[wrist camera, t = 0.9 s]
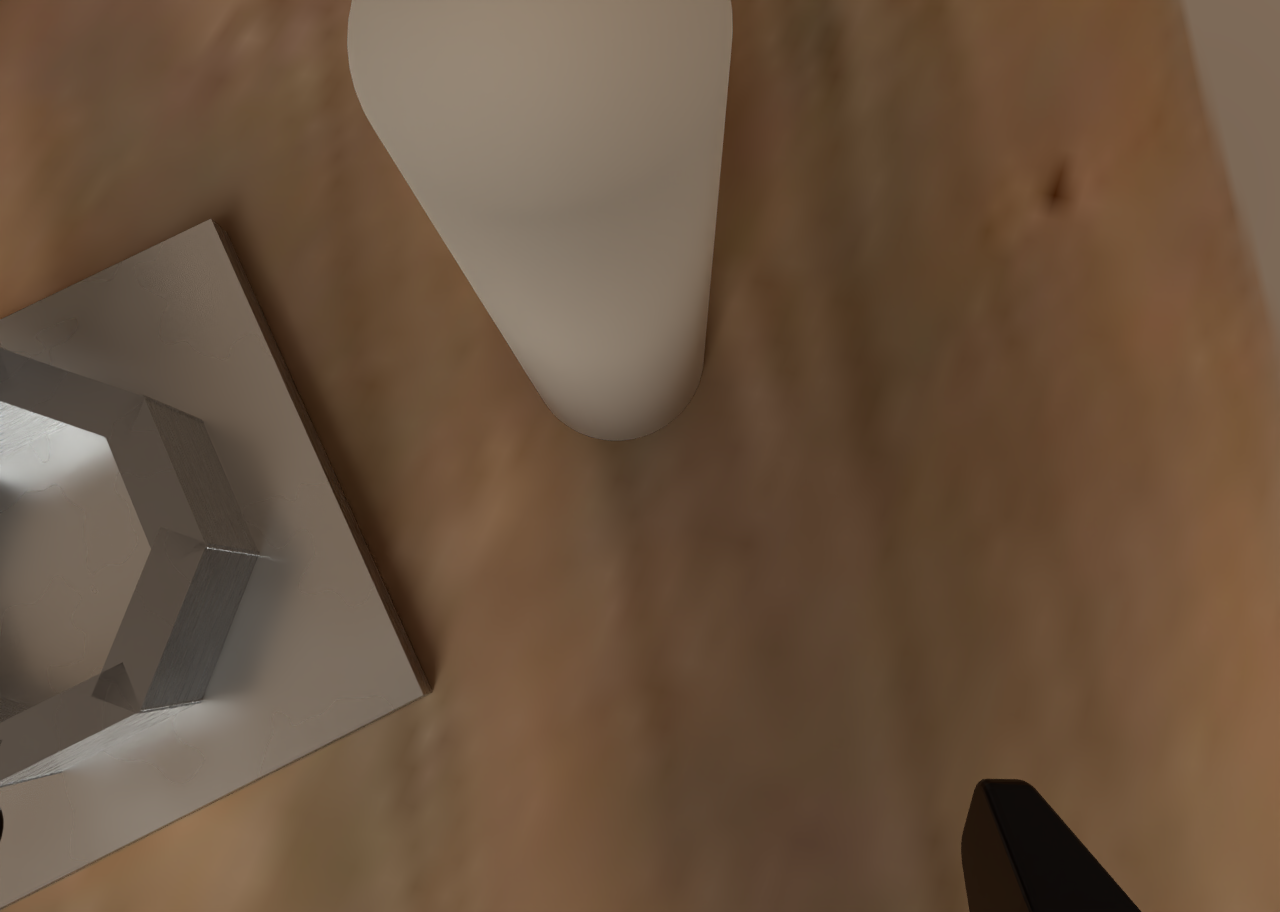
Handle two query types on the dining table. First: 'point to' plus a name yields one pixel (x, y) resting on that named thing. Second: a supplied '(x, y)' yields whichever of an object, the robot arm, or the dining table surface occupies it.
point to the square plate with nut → (168, 563)
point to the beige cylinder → (566, 179)
